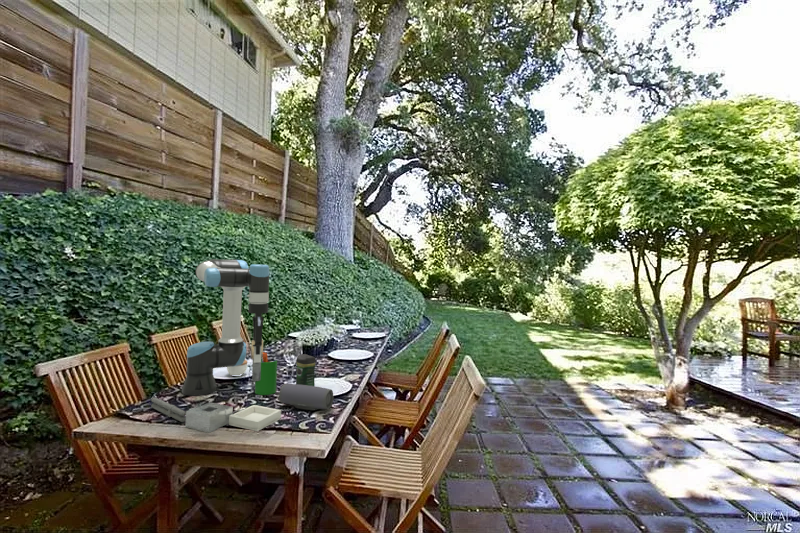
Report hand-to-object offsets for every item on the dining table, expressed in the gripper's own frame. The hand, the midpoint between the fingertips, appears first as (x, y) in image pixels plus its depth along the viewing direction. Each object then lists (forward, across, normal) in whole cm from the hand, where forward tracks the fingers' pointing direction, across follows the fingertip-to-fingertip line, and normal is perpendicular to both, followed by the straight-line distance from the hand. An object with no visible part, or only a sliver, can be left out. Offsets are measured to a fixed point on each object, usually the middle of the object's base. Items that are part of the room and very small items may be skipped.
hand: (256, 360), depth 165 cm
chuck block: (+25, -3, -17) cm, 30 cm away
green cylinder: (+25, -37, +7) cm, 45 cm away
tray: (+25, 0, 0) cm, 25 cm away
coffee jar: (+25, -31, +26) cm, 47 cm away
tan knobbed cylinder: (+8, 0, 0) cm, 8 cm away
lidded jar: (+25, -72, -5) cm, 76 cm away
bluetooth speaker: (+25, -9, +22) cm, 35 cm away
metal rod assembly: (+25, -18, -33) cm, 45 cm away
